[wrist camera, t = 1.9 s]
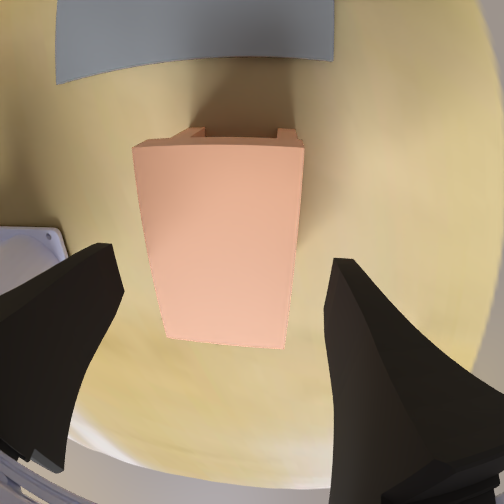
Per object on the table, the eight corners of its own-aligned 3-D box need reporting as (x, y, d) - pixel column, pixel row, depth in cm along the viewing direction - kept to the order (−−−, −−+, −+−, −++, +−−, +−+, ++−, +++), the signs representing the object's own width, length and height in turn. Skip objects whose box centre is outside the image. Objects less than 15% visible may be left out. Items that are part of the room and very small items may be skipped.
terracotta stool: (198, 261, 17) (167, 337, 12) (188, 119, 13) (131, 147, 8) (285, 266, 17) (284, 349, 12) (295, 120, 13) (304, 148, 8)
